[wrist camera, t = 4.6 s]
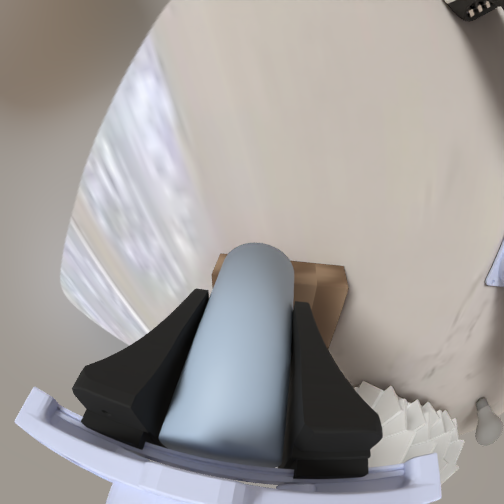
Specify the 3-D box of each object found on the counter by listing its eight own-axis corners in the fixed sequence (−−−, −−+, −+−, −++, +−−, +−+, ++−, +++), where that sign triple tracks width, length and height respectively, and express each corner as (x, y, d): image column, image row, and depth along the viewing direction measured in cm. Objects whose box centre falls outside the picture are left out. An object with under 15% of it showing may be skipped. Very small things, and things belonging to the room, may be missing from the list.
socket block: (343, 266, 23) (348, 288, 21) (320, 345, 29) (321, 367, 26) (220, 253, 24) (211, 274, 22) (223, 335, 30) (218, 356, 27)
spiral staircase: (350, 345, 34) (435, 394, 38) (272, 431, 36) (372, 458, 40) (423, 434, 16) (490, 449, 20) (293, 529, 18) (407, 522, 22)
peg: (298, 247, 14) (291, 446, 6) (289, 305, 16) (274, 474, 8) (221, 238, 15) (144, 419, 6) (222, 297, 17) (171, 456, 8)
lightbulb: (474, 395, 34) (486, 443, 25) (497, 386, 32) (510, 431, 23) (463, 409, 37) (473, 453, 28) (485, 401, 35) (496, 443, 26)
